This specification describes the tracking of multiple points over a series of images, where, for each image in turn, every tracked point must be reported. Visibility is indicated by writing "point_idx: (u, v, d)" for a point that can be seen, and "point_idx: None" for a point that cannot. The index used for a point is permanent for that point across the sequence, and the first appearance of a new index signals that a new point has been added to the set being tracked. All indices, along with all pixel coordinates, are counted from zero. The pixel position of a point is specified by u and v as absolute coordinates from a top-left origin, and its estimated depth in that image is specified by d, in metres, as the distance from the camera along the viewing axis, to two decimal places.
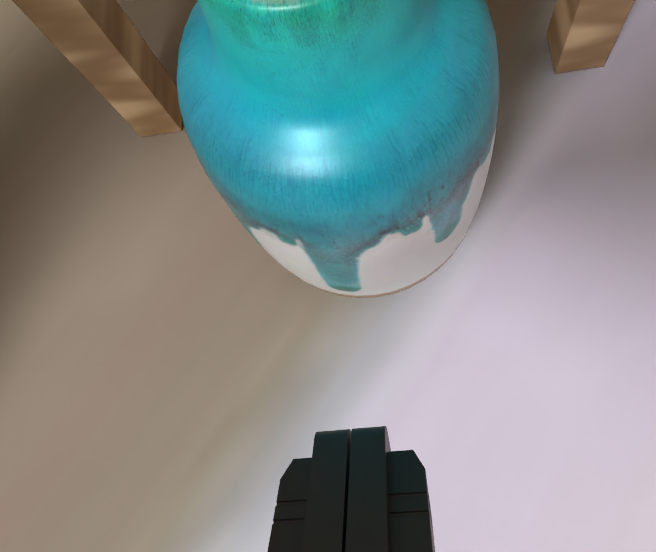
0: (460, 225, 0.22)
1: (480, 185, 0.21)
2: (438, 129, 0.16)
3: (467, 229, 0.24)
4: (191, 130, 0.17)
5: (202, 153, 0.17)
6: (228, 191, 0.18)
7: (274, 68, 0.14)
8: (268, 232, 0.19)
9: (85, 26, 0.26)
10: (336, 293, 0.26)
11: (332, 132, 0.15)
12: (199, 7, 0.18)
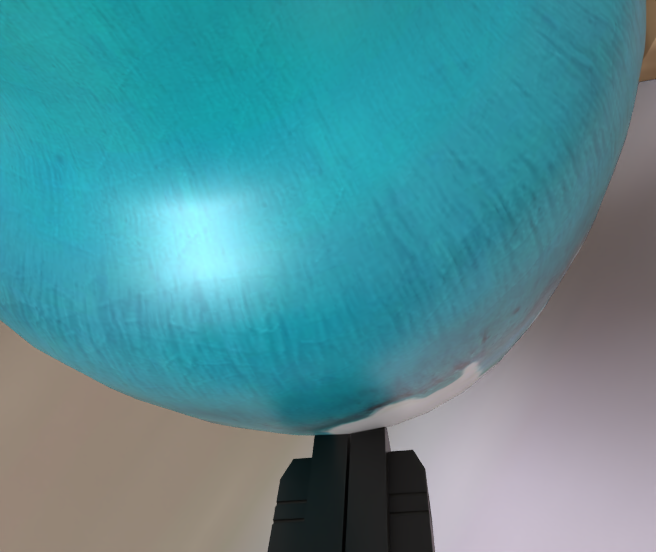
0: None
1: None
2: (523, 183, 0.05)
3: None
4: None
5: None
6: None
7: None
8: None
9: None
10: None
11: (214, 205, 0.05)
12: None
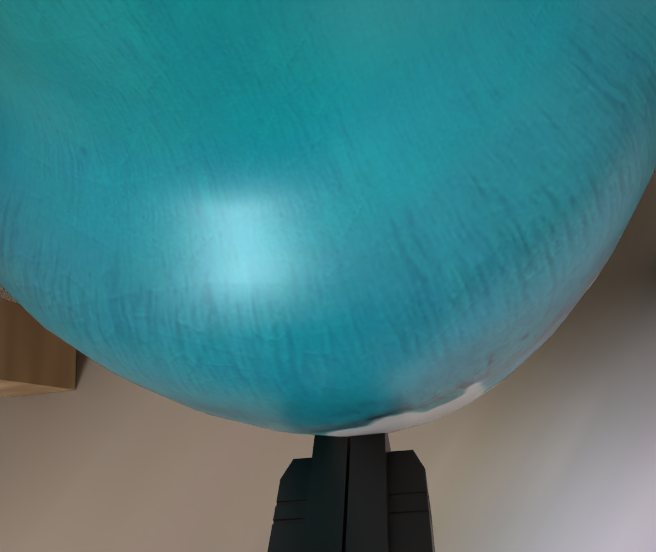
0: None
1: None
2: (543, 214, 0.05)
3: None
4: None
5: None
6: None
7: None
8: None
9: None
10: None
11: (231, 210, 0.05)
12: None
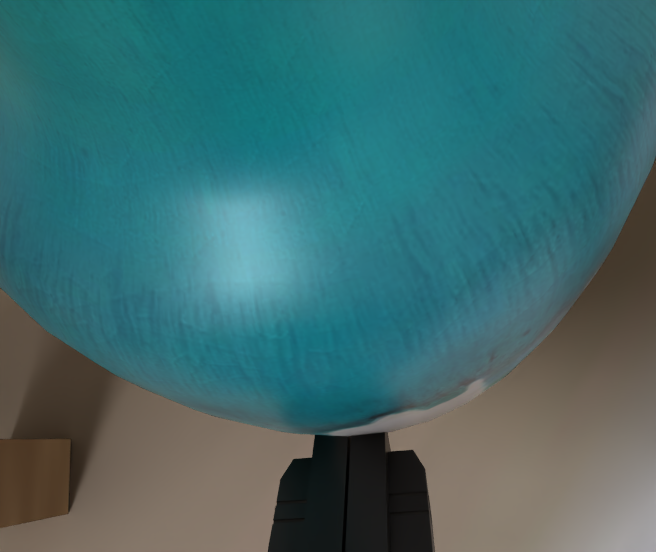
0: None
1: None
2: (544, 210, 0.05)
3: None
4: None
5: None
6: None
7: None
8: None
9: None
10: None
11: (234, 210, 0.05)
12: None
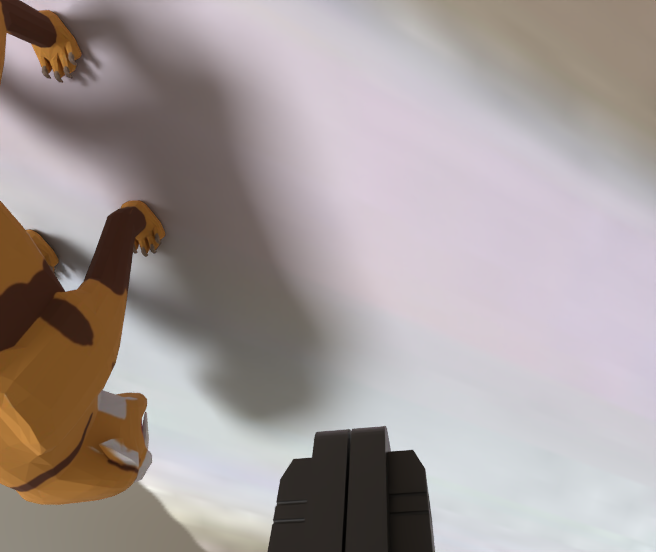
0: None
1: None
2: None
3: None
4: None
5: None
6: None
7: None
8: None
9: None
10: None
11: None
12: None
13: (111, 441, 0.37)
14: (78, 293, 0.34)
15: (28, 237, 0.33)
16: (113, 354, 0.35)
